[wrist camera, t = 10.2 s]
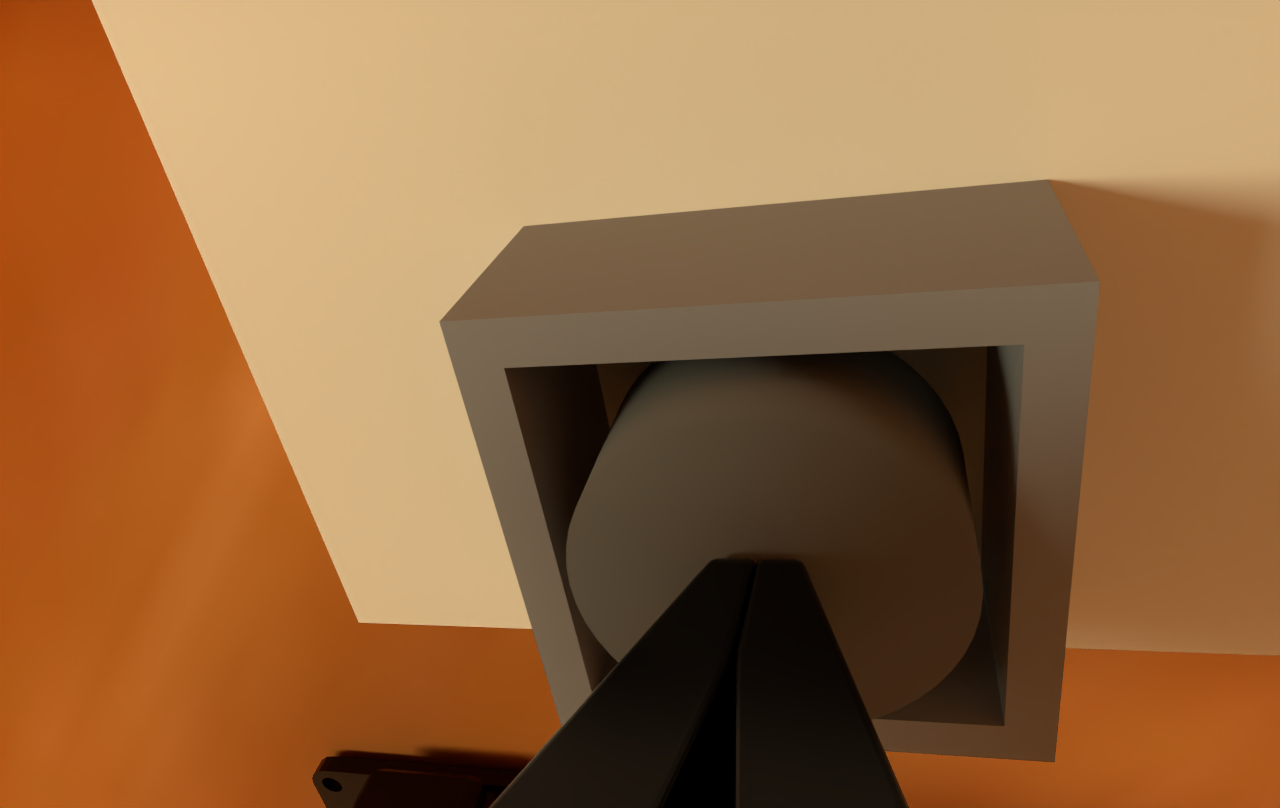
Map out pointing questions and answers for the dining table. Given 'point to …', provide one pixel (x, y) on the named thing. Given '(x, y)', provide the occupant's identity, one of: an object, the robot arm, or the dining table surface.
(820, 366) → the grey dome
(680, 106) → the console
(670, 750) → the robot arm
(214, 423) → the dining table surface
